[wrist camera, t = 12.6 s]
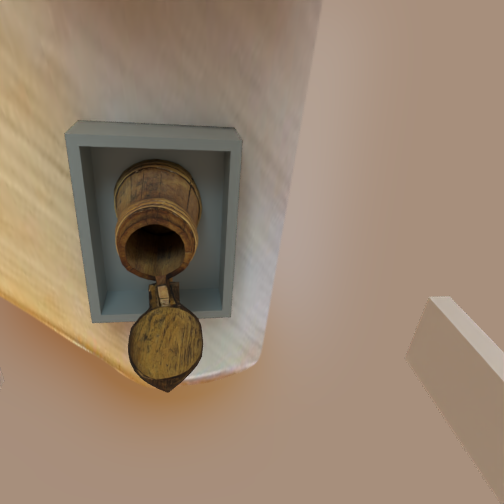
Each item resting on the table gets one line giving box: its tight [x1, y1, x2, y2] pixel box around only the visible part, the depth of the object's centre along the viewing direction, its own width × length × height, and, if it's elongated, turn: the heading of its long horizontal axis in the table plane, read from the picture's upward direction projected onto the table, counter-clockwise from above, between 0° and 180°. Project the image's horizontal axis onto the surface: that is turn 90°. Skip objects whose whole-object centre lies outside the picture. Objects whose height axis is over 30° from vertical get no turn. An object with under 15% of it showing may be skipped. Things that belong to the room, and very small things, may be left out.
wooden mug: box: [114, 159, 203, 392], centre depth 35 cm, size 9×14×18 cm, turn 2°
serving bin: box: [65, 120, 242, 323], centre depth 41 cm, size 20×15×6 cm
